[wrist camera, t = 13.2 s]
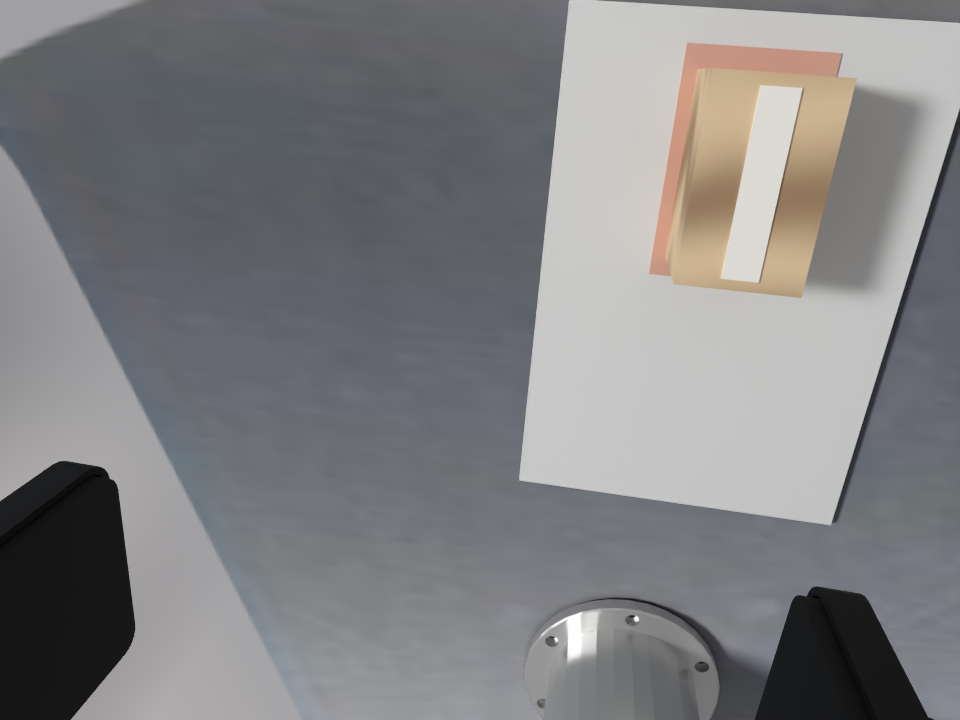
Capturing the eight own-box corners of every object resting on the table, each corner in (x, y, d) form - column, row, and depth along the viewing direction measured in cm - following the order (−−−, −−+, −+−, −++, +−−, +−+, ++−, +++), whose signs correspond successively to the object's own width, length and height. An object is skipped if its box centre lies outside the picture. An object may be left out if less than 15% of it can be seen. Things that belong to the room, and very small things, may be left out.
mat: (828, 520, 41) (831, 526, 41) (519, 475, 43) (518, 481, 43) (980, 25, 31) (986, 24, 31) (569, -1, 33) (569, -2, 33)
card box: (697, 68, 33) (713, 68, 28) (820, 77, 32) (857, 78, 28) (664, 257, 36) (674, 284, 32) (776, 269, 36) (802, 298, 31)
